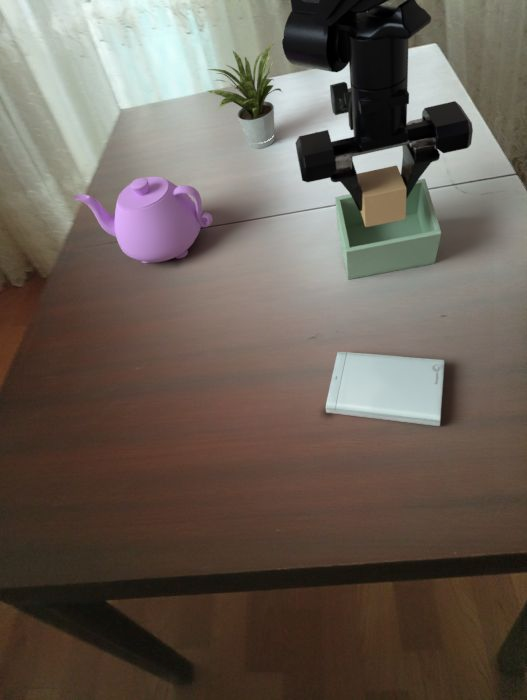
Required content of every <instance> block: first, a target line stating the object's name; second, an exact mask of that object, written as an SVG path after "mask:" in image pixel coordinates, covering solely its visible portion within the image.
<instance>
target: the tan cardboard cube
mask: <svg viewBox="0 0 527 700" xmlns="http://www.w3.org/2000/svg"><path fill="white" fill-rule="evenodd" d="M399 169H400V168H398V165H397V164H395V165H392V166H387V167H383V168H378V169H374V170H369V171H364V172H359V173H357V177H358V182H359V187H360V193H361V198H362V211H361V214H362V218H363V221H364V224H365V227H370V226H375V225H380V224H385V223H390V222H395V221H400V220H405V219H406V190H407V188H406V186H405V184H404V181H403V179H402V176H401V171H400V170H399Z"/></svg>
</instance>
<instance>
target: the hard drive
mask: <svg viewBox="0 0 527 700" xmlns="http://www.w3.org/2000/svg"><path fill="white" fill-rule="evenodd" d="M445 363H446V361H445V360H444V359H438V358H436V359H435V358H424V357H423V358H422V357H412V356H411V357H409V356H401V355H400V356H399V355H390V354H389V355H388V354H376V353H375V354H374V353H365V352H364V353H363V352H349V351H337V353H336V357H335V361H334V366H333V370H332V375H331V379H330V384H329V389H328V394H327V397H326V403H325V413H327V414H336V415H343V416H352V417H358V418H368V419H376V420H384V421H392V422H399V423H400V422H402V423H409V424H417V425H425V426H435V427H440V426H441V420H442V409H443V407H442V406H443V393H444V392H443V391H444V379H445V378H444V376H445Z"/></svg>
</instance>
